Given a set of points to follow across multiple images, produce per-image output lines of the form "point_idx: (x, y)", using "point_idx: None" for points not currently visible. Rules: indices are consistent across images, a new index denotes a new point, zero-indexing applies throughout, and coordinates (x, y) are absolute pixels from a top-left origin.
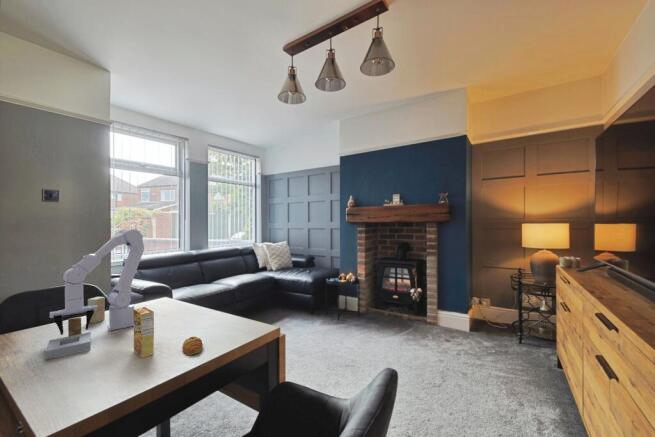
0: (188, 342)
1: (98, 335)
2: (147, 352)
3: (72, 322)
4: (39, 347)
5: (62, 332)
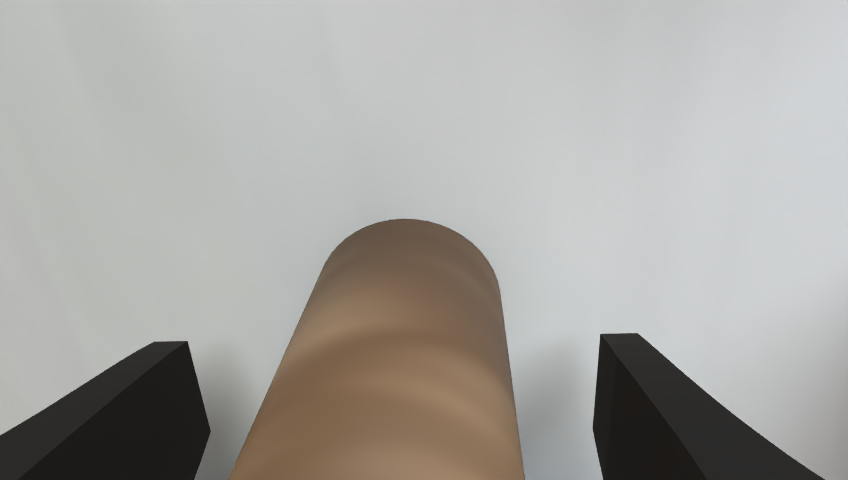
0: None
1: (743, 396)
2: None
3: None
4: (4, 393)
5: (187, 478)
